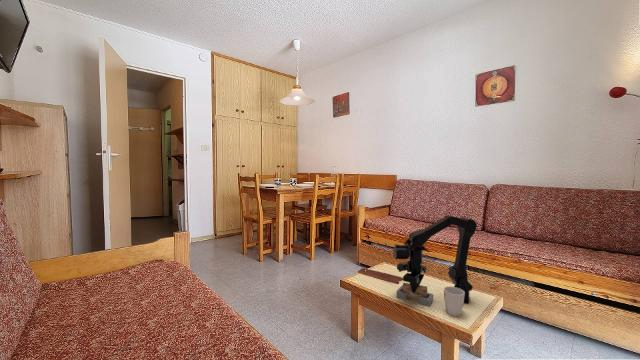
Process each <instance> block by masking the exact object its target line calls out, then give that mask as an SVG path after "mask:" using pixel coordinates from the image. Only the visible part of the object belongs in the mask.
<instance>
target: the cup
mask: <svg viewBox="0 0 640 360" xmlns="http://www.w3.org/2000/svg"><path fill="white" fill-rule="evenodd" d="M464 295H465V292H464V291H463V290H462V289H459V288H456V287H454V286H444V287H443V299H444V305H445V309H446V312H447V314H448V315H450V316H453V317H460V315H461V312H462V311H463V306H464Z"/></svg>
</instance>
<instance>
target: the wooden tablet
mask: <svg viewBox="0 0 640 360" xmlns="http://www.w3.org/2000/svg"><path fill="white" fill-rule="evenodd" d="M365 270H366V271H365ZM357 273H359V274H360V275H364V276H368V277H372V278H375V279H378V280H382V281H385V282H388V283H392V284H396V285H398V284H400V282H404V281H403V276H402V277H401V276H398V275H394V274H390V273H385V272H383V271H378V270H374V269H370V268H369V270H368V268H364V267H363V268H361V269H359V270H357Z"/></svg>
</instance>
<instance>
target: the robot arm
mask: <svg viewBox="0 0 640 360" xmlns="http://www.w3.org/2000/svg"><path fill="white" fill-rule="evenodd" d="M452 225H453V226H457V231H458V241H457V242H458V243H457V248H456V254H455V261H454V264H453V265H451V266H450V265H449V266H448V272H447V274H448V277H449V279H450V280H451V281H452V283H453V284H454V286H453V287H456V288H459V289H462V290H463V291H464V292H465V295H464V303H465V304H469V303H470V299H471V297H470V292H471V291H472V290H473V288H474V286H473V285H472V284H471V283H470V282H469V278H468V275H469V274H468V271H467V268H466V267H467V261H468V257H469V256H468V254H469V248H470V244H471V238H472V237H473V236H474V234H475V233H476V230H477V228H478V224H477V222H476V221H475V220H474V219H471V218H469V217H465V216H464V217H458V216H457V217H456V216H453V215H449V214H447V215H445V216H444V217H442V218H441V219H439V220H437V221H435V222H433V223H432V224H430V225H428V226H427V227H425V228H423V229H422V228H421V229H417V230H414V231H412V232H410V233H409V235H408V238H407V239H406V241H404V243H403V244H394V247H393V250H392V253H393V254H392V256H393V259H394V260H407V261H404V262H403V261H402V262H399V263H398V264H397V265H396V269H397V270H398V272H399V273H400V272H405V271H406V273H405V274H404V275H403V276H402V278H403V281H402V282H404V283H410V285H411V289H412V292H413V293H415V291H416V289H417V287H418V285H421V283H422V280H423V278H424V276H425V274H426V273H427V272H428V269H427V266H425V265H423V264H424V260H423V251H428V249H427V248H426V247H425V246H424V245H425V244H426V243H427V242H428V240H430V238H432V237H433V236H435V235H436V234H438V233H440V232H442V231H443V230H445V229H447V228H448V227H451V226H452ZM422 273H423V274H422ZM464 303H463V304H464Z"/></svg>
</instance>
